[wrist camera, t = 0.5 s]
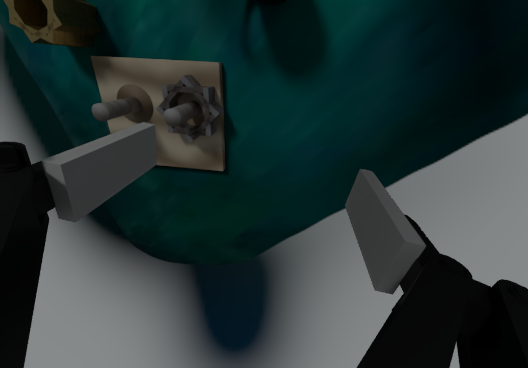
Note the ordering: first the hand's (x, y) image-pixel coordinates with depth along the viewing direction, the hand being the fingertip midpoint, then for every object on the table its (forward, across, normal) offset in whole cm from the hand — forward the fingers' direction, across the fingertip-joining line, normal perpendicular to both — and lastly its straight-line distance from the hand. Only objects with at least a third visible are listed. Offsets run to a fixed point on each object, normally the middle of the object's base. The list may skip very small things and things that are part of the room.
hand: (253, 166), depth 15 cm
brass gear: (+26, -34, +6) cm, 43 cm away
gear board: (+26, -19, -6) cm, 33 cm away
